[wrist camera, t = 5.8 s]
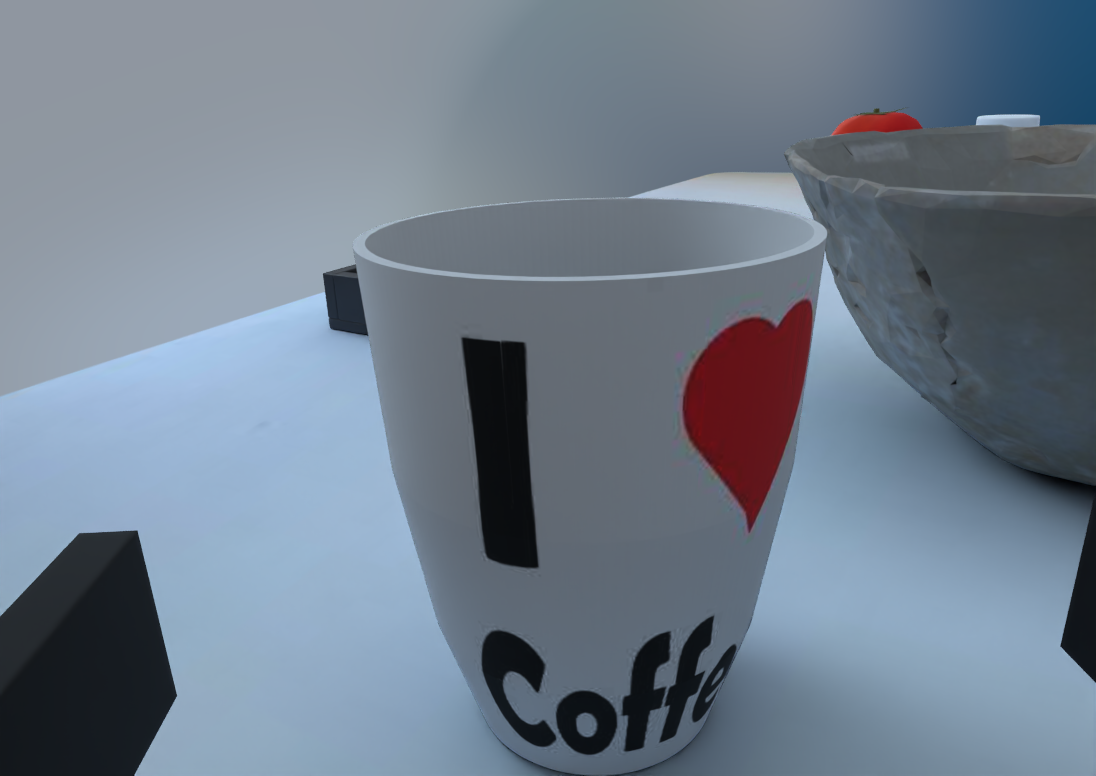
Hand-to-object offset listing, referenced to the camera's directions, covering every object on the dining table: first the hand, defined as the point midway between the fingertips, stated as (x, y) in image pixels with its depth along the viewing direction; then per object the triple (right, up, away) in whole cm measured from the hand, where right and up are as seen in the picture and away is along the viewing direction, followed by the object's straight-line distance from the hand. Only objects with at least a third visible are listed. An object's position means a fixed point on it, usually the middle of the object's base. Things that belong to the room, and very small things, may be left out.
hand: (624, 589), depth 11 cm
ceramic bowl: (+18, +1, +18) cm, 25 cm away
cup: (0, -4, +7) cm, 8 cm away
